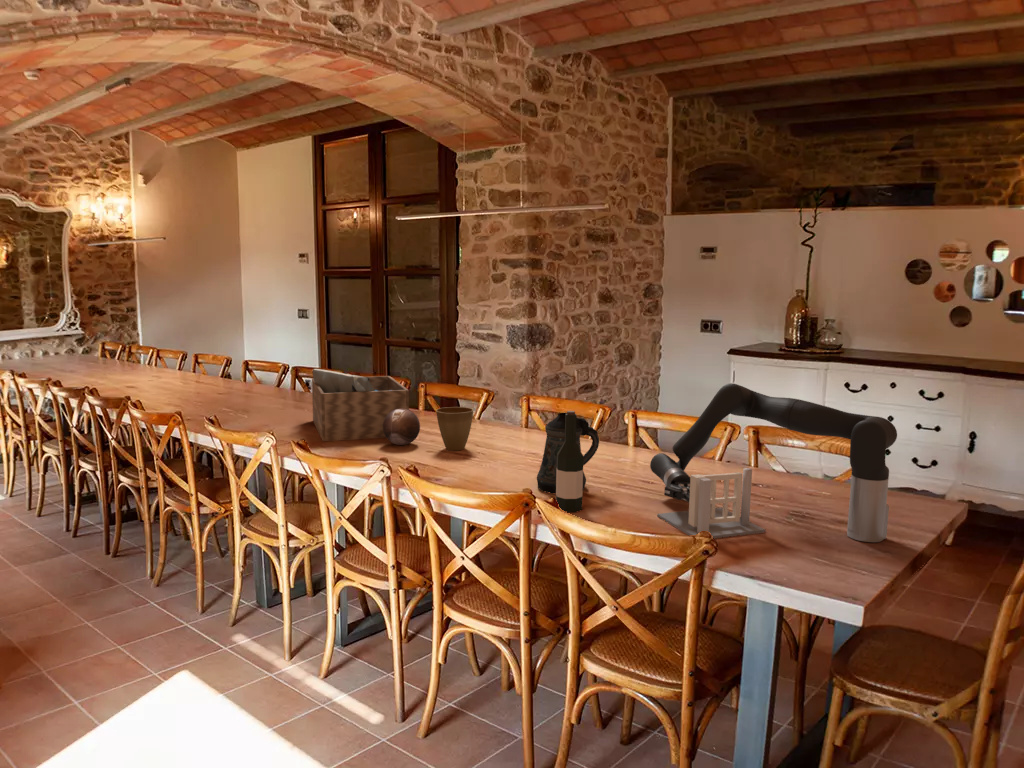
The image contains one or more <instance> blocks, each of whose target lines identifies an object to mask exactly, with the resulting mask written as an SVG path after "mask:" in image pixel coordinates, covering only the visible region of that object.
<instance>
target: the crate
mask: <svg viewBox="0 0 1024 768" xmlns="http://www.w3.org/2000/svg"><path fill="white" fill-rule="evenodd" d="M367 377H368V378H369V379H370V384H371V385H372V387H373V388H374V390H377V391H367V392H342V393H324V392H323V391H322V389H321V388H320V386H319V385H318V384H316V383H315V382H314V380H313V378H311V389H312V391H311V398H312V399H311V400H312V422H313V424H314V426H315V429H316V431H317V432H318V435H319V436H320V439H321V441H322V442H332V441H333V442H335V441H348V440H350V441H351V440H366V439H367V440H368V439H383V438H386V436H385V434H384V431H383V423H384V420H385V418H386V416H387V415H388V414H389V413H390V412H391V411H393V410H395V409H400V408H403V409H408V410H410V398H409V397H410V395H409V394H410V393H409V389H408V388H407V387H405V386H404V385H402V384H401V383H400V382H398V381H397V380H396V379H395V378H394V377H391V376H390V375H378V376H377V375H375V376H367ZM389 390H391V391H389Z"/></svg>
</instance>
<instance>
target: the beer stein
mask: <svg viewBox="0 0 1024 768" xmlns="http://www.w3.org/2000/svg"><path fill="white" fill-rule="evenodd" d="M566 414H567V412H559V413H558V414H557V416H556V417H555V418H553V419H552V420H551V421H549V422H547V424H546V425H545V427H544V429H545V433H546V439H545V444H544V450H543V455H542V461H541V465H540V467H539V471H538V473H537V475H536V481H537V482H536V483H537V488H538V489H539V491H541V492H544V491H546V492H545V493H548V492H550V493H549V494H553V493H556V470H557V453H558V451H559V450H560V448H561V446H562V445H563V443H564V442H565V416H566ZM581 436H583V437H584V436H589V437H590V438H591V441H592V442H591V446H590V447H589V449H588V450H587V452H585V453H584V455H583V467H584V466H585V465H586V464H587V463H589V462H590V460H591V459H592V458H593V457H594V456H595V454H596V453H597V451H598V449H599V446H600V445H599V444H600V437H599V432H598V431H597V430H596V429H595V428H593V427H591V426H590V424H589V422H588V421H587V420H586V419H585V418H582V417H577V416H576V443H577V445H578V447H579V449H580V451H581V452H582V447H581ZM586 483H587V477H586V475H585V472H584V471H583V491H584V490H585V487H586Z"/></svg>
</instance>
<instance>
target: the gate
mask: <svg viewBox="0 0 1024 768" xmlns="http://www.w3.org/2000/svg"><path fill="white" fill-rule="evenodd" d="M704 478H708V479H710V480H711V499H710V518H709V524H712V523H723V522H737V521H740V517H741V502H742V484H743V472H729V473H727V472H725V473H715V474H714V473H712V474H702V473H701V474H699V473H697V474H690V500H689V502H688V504H689V506H688V511H689V521H688V524H690V525H691V526H693V527H697V525H698V504H699V483H700V479H704ZM730 480H733V481H734V482H733V495H732V496H729V492H730ZM717 481H723V496H722V497H716V496H717V484H718V483H717ZM729 503H732V513H733V514H732V516H728V517H727V515H728V511H729V510H728V509H729V507H728V506H729ZM716 504H722V508H723V513H722V517H716V518H715V508H716Z"/></svg>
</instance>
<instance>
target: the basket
mask: <svg viewBox="0 0 1024 768" xmlns="http://www.w3.org/2000/svg"><path fill="white" fill-rule="evenodd" d="M368 377H369V376H362V375H361V376H360V375H354V374H350V373H343V372H339V371H333V370H326V369H320V368H313V369H312V379H313V380H314V382H315V383H316V384H318V385H319V386H320V388H321V389H322V391H323V392H324V393H342V392H367V391H377V390H374V388H373V387H372V385H371V384H370V379H369V378H368ZM389 391H391V390H389Z"/></svg>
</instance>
